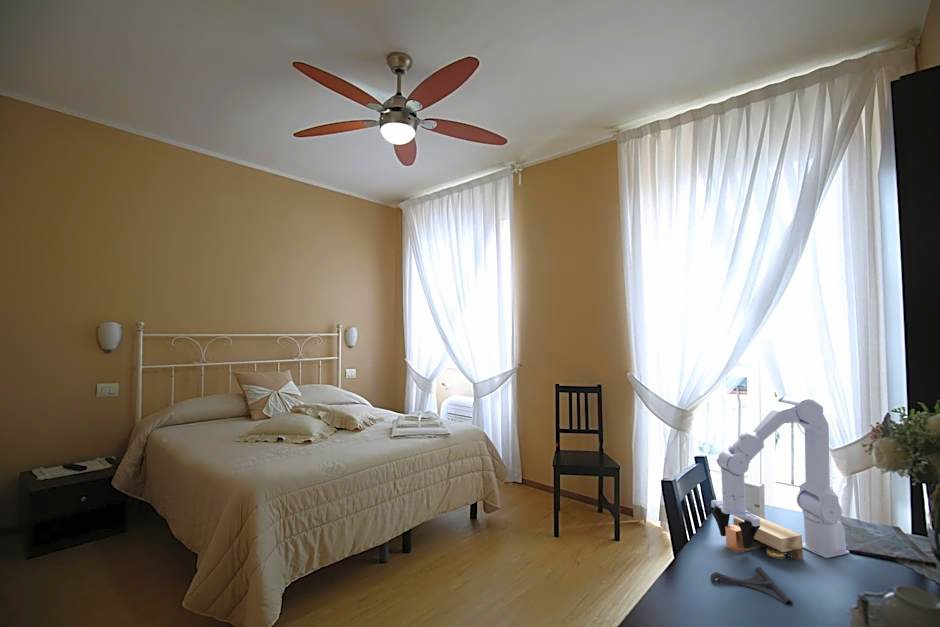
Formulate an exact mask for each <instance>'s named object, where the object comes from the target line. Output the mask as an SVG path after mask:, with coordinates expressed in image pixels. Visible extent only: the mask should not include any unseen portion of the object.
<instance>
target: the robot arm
mask: <svg viewBox="0 0 940 627" xmlns="http://www.w3.org/2000/svg"><path fill="white" fill-rule="evenodd" d="M790 423H791V424H793V423H794V424H795V423H798V424H799V425H800V426H801V427H802V428H804V460H805V461H804V462H805V463H804V465H805V468H804V469H805V472H804V473H805V482H803V483H801V484H800V485H799V491H798V494H797V496H796V504H797V506H798V507H800V509H802V510H801V512H802V514H803V528H804V529H803V530H804V541H802V547H803V549H805V550H807V551H809V552H812V553H814V554H816V555H818V556H820V557H822V558H825V559H829V558H834V557H838V556H842V555H847V554H850V551H849V550H847V548H846V547H847V545H846V533H845V532H846V529H845V527H844V525H843V523H842V522H841V521H840V520H841V518H842V516H843V509H842V507H841V505H840V502H839V497H838V494H836V492H835V491H834V490H833V488H832V486H831V480H830V479H831V475H830V436H829V435H830V434H829V433H830V430H829V428H830V427H829V426H830V425H829V422H828V420H827V418H826V417H825V414H824V407H823V406H822V405H821V404H819V403H818V402H816V401H815V400H814V399H810V398H802V397H797V396H793V395H789V394H785V395H782V396H781V397H779V399H778V400H777V401H775V402H774V403H773V405H772V409H771V410H770V411H769V412H768V414H767V415H766V416H765V417H764V419H762V420H761V422H760V423H759V424H758V425H757V427H755V429H754V430H753V431H752V432H744V433H741V434H740V435H739V437H738V439H737V440H736V442H735V443H733V444H732V446H729V447H728V450H727V449H726V450H723V451H721V452H720V453H719V455H718V458H716V464H717V465H718V466H719V467H720V470H721V491H722V492H721V493H722V494H721V496H722V501H720V500H718V499H712V500H711V501H710V504H711V505H710V506H711V508H713V509H711V514H712V516H713V518H714V520H715V522H716V524H717V527H718V530H719V534H720V536H721V537H726V529H725V526H729V522H730V518H731V516H732V517H733V516H734V517H738V518H740V519H742V520H744V522H740V523H738V524H739V526H740V529H741V532H742V539H743V546H744V548H751V546H752V542H753V539H754V536H755V534H756V532H757V530H758V529H759V528H760V518H758V517H756V516H754V515H753V514H751V513H750V512H748V511H747V510H746V504H745V482H744V480H745V473H747V472H748V470H749V469H750V463H751V461H752V460H753V459H754V458H755V457H756V456H757V455H759V453H761V451H762V450H763V449H764V448H765V444H764V443H765V442H764V441H765V440H766V439H768V438H769V437H770V436H771V435H772V434H773V433H775V432H776V431H777V430H778V429H779V428H780V427H782V426H783V425H784V424H790Z"/></svg>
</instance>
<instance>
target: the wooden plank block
mask: <svg viewBox="0 0 940 627" xmlns="http://www.w3.org/2000/svg"><path fill="white" fill-rule="evenodd" d="M754 516H756V515H754ZM756 517H758V516H756ZM732 518H733V525H736V526H738V527H740V526H739V524H738V523H740V522H744V520H742V519H740V518H738V517H735V516H734V517H733V516H732ZM758 518H760V528H759V529H758V530H757V532H756V534H755V536H754V539H756V540H758V541H760V542H762V543H764V544H766V547H769V546H771V547H773V548H775V549H777V550H779V551H781V552H785V553H786V554H787V555H786V554H785V555H786V556H788V555H790V556H792V557H793V558H792V557H791V558H792V559H794V558H795V559H794V560H796V561H800V560H801V561H802V560H804V550H803V549H804V548H803V547H802V543H803V535H802V534H800V533H797V532H795V531H793V530H791V529H789V528H786V527H783V526H782V525H780V524H777V523H774V522H772V521H769V520H767V519H766V518H765V519H763V518H761V517H758ZM790 556H789V557H790Z"/></svg>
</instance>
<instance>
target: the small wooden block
mask: <svg viewBox="0 0 940 627" xmlns="http://www.w3.org/2000/svg"><path fill="white" fill-rule="evenodd" d="M725 529H726V536H725V546H726V548H727V549H729V550H730V551H732V552H734V553H736V554H739V553H743V552H744V551H745V552H747V551H751V550H755V549H761V547H762V548H766V547H767V545H766V544H764V543H762V542H760V541H758V540H756V539H753V542H752V546H751V548H744V546H743V539H742V532H741V529H740V527H738V526H736V525H734V524H731V525H728V526H725ZM765 546H766V547H765ZM746 550H747V551H746Z"/></svg>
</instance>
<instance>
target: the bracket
mask: <svg viewBox="0 0 940 627" xmlns="http://www.w3.org/2000/svg"><path fill="white" fill-rule="evenodd" d="M710 580H711V581H712V584H720V583H721V584H723V585H735V586H742V587H746V588H750V589H753V590H757V591H759V592H762V593H764V594H766V595H769V596H770V597H771V598H774V599H776V600H777V601H779V602H781V603H782V604H785V605H787V602H788V603H789V604H790V605H792V606H793V605H794V602H793V601H792V599H790V597H789V596H788V595H787V594H786V593H785V592H784V591H783V590H782V589H781V588H780V587H779V585H778V584H776V582H775V581H774V580H773V579H772V578H771V577H770V576H769V575H768V573H766V572H765V570H763V568H762V567H760V566H757V567H755V570H754V575H753V576H752V577H749V578H745V579H742V578H740V579H739V578H737V577H736V578H735V577H731V576H728V575H725V574H722V573H719V572H717V571H715V572H712V573H711V575H710ZM771 589H772V590H771Z"/></svg>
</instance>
